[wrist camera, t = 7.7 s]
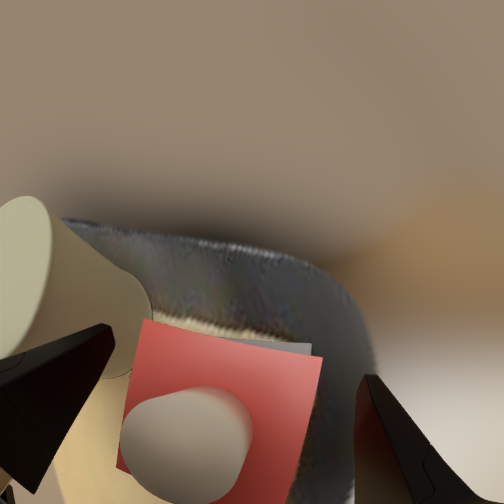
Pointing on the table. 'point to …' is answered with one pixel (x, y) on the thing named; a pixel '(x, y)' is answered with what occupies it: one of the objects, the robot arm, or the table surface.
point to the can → (62, 287)
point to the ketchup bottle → (214, 417)
